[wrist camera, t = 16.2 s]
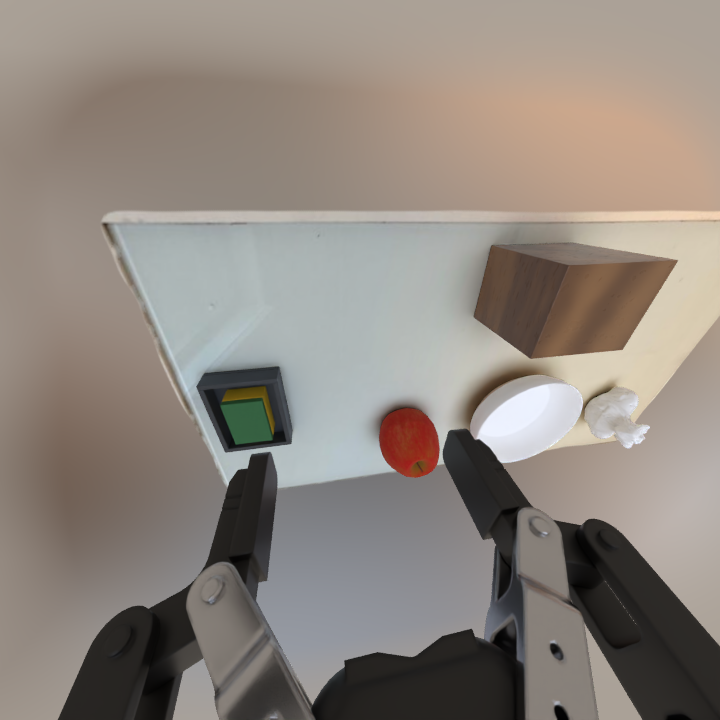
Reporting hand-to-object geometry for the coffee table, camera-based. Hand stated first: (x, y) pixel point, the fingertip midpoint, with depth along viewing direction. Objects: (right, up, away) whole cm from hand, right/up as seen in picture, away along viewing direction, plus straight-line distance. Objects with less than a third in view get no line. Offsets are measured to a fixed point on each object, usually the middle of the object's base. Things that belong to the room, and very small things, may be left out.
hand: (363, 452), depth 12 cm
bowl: (+29, -4, +39) cm, 48 cm away
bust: (+50, -5, +43) cm, 66 cm away
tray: (-17, -3, +29) cm, 34 cm away
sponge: (-17, -3, +29) cm, 34 cm away
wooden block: (+23, +15, +25) cm, 37 cm away
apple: (+8, -8, +37) cm, 38 cm away
